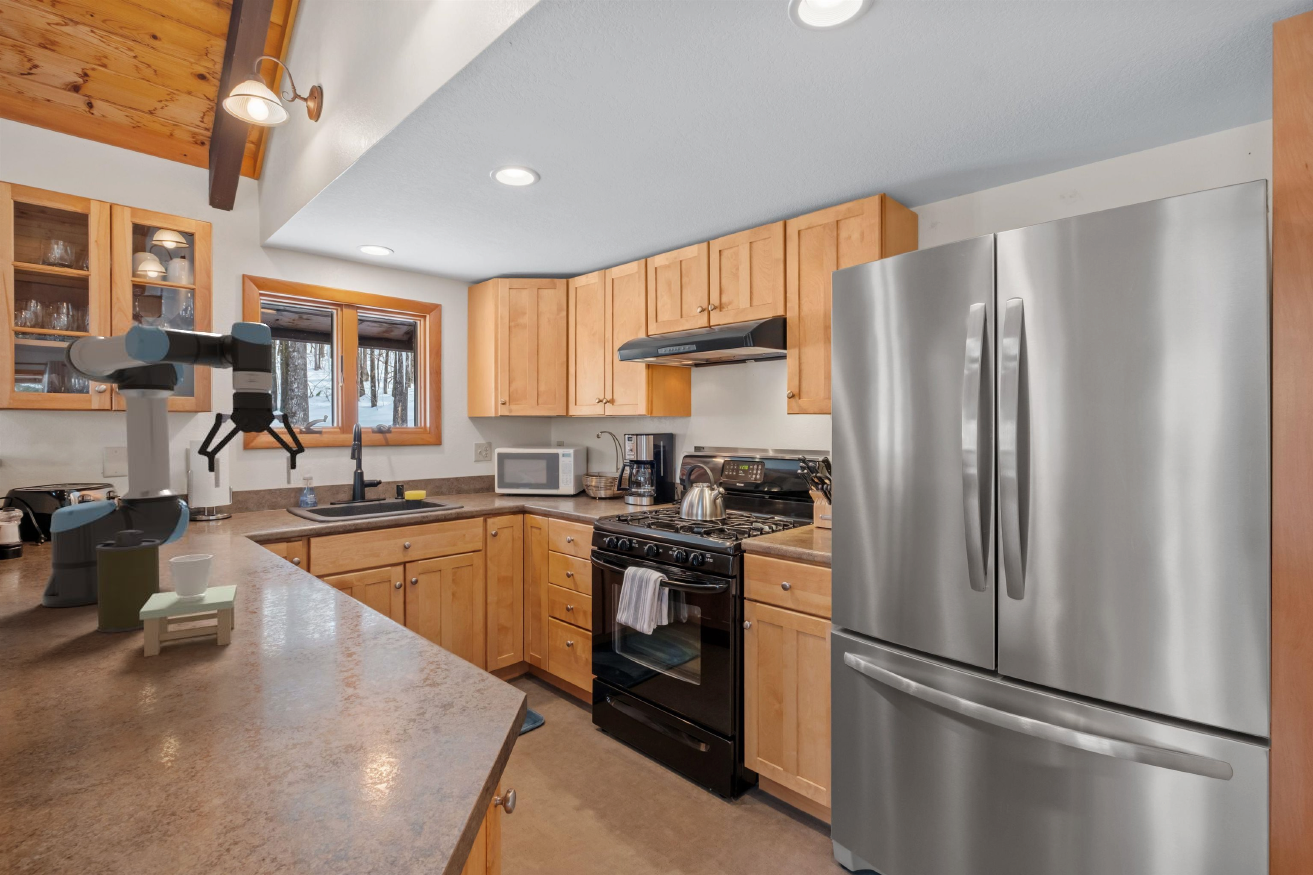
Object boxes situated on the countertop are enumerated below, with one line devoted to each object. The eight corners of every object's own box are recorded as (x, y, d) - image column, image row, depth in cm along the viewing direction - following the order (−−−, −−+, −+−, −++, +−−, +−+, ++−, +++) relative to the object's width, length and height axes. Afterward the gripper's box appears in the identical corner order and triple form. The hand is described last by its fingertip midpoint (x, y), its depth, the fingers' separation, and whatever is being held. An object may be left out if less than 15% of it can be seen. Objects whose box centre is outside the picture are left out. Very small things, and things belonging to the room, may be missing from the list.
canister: (173, 617, 137) (172, 527, 136) (129, 633, 126) (127, 535, 126) (128, 616, 138) (127, 526, 138) (81, 632, 128) (79, 535, 127)
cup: (170, 606, 116) (170, 563, 116) (166, 595, 124) (165, 555, 124) (216, 598, 121) (215, 557, 121) (209, 589, 128) (208, 550, 128)
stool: (153, 635, 125) (153, 593, 125) (237, 624, 132) (237, 584, 132) (140, 657, 113) (139, 611, 113) (233, 643, 120) (232, 600, 120)
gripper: (181, 389, 131) (183, 489, 131) (316, 392, 144) (317, 483, 144) (186, 391, 137) (187, 486, 138) (314, 393, 150) (315, 481, 151)
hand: (253, 485), depth 141 cm, fingers open, 13 cm apart
